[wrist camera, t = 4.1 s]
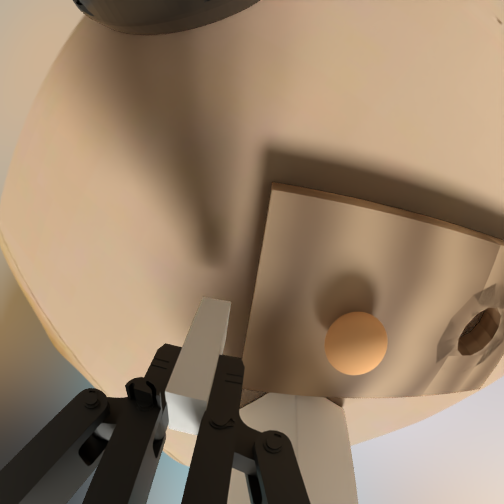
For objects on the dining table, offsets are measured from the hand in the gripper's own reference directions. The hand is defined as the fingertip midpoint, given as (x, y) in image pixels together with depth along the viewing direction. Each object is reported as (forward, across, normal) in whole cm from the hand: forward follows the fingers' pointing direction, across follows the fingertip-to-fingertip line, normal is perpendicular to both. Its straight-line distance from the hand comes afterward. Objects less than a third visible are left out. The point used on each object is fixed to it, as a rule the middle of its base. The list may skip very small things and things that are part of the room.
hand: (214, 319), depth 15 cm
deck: (+4, +14, 0) cm, 14 cm away
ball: (-1, +8, 0) cm, 8 cm away
